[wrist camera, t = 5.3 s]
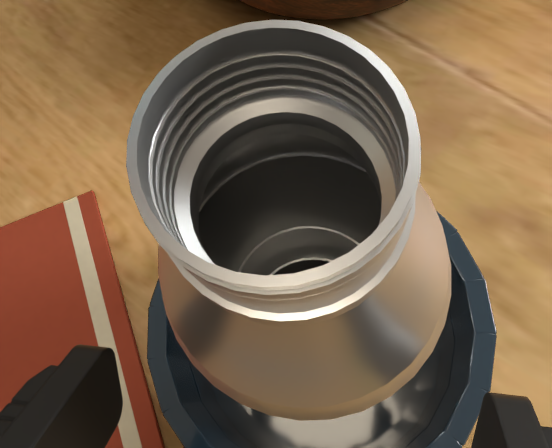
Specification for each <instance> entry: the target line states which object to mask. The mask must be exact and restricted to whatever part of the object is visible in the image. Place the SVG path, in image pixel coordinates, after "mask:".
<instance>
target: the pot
mask: <svg viewBox="0 0 552 448" xmlns="http://www.w3.org/2000/svg"><path fill="white" fill-rule="evenodd" d="M436 212H437V211H436ZM437 214H438V217H439V219H440V221H441V224H442V226H443V230H444V234H445V238H446V243H447V248H448V253H449V258H450V262H451V299H450V303H449V308H448V313H447V317H446V322H445V326H444V328H443V330H442V332H441V334H440V337H439V339H438V341H437V343H436V346H435V348H434V350H433V352H432V353H431V355H430V356H429V357H428V359H427V360H426V361H425V363H424V364H423V365H422V367H421V368H420V369H419V371H418V372H417V373H416V375H415V376H414V377H413V378H412V379H411V380H410V381H408V382H407V383H406V384H405V385H404V386H402V387H401V388H400V389H399V390H398V391H397V392H395V393H394V394H393V395H392V396H391V397H389V398H387V399H385V400H383V401H381V402H379V403H378V404H376V405H374V406H372V407H370V408H368V409H366V410H364V411H362V412H358V413H355V414H351V415H347V416H343V417H339V418H335V419H330V420H305V421H299V420H293V419H288V418H282V417H276V416H270V415H267V414H265V413H262V412H260V411H257V410H255V409H252V408H250V407H247V406H245V405H242V404H240V403H238V402H237V401H235V400H234V399H232V398H231V397H229V396H228V395H226V394H225V393H223V392H222V391H220V390H219V389H217V388H216V387H214V386H213V385H212V384H211V383H210V382H209V381H208V380H207V379H206V378H205V377H204V376H203V375H202V373H201V372H200V371H199V370H198V369H197V368H196V367H195V366H194V365H193V364H192V363H191V361H190V360H189V358H188V357H187V355H186V353H185V352H184V350H183V349H182V347H181V346H180V344H179V343H178V341H177V339H176V337H175V335H174V332H173V330H172V327H171V325H170V322H169V320H168V317H167V315H166V311H165V307H164V303H163V297H162V292H161V287H160V281H159V278H158V281H157V284H156V287H155V290H154V293H153V296H152V299H151V302H150V307H149V310H148V343H147V359H148V365H149V369H150V372H151V376H152V379H153V383H154V386H155V390H156V393H157V397H158V401H159V404H160V408H161V411H162V413H163V416H164V417H165V419H166V420H167V422H168V423H169V425H170V426H171V428H172V429H173V431H174V432H175V434H176V435H177V437H178V438H179V440H180V441H181V443H182V444H183V446H184V447H185V448H462V446H464V445H465V443H466V441H467V439H468V437H469V435H470V433H471V431H472V429H473V427H474V425H475V423H476V421H477V419H478V416H479V413H480V409H481V405H482V401H483V397H484V395H485V394H486V393H487V392H490V390H491V381H492V372H493V364H494V355H495V346H496V337H497V336H496V333H497V332H496V327H495V322H494V318H493V313H492V308H491V304H490V299H489V294H488V290H487V285H486V280H485V279H484V277H483V275H482V273H481V271H480V269H479V268H478V266H477V264H476V262H475V261H474V259H473V257H472V255H471V254H470V252H469V250H468V248H467V247H466V245H465V243H464V242H463V240H462V238H461V236H460V235H459V233H458V232H457V229H455V228H454V227H453V226H452V225H451V224H450V223H449V222H448V221H447V220H446V219H445V218H444V217H443V216H442V215H441V214H439V213H438V212H437Z"/></svg>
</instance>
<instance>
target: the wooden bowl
mask: <svg viewBox="0 0 552 448" xmlns="http://www.w3.org/2000/svg"><path fill="white" fill-rule="evenodd" d="M240 1H242V2H244V3H246V4H248V5H250V6H252V7H255V8H257V9H260V10H263V11H266V12H270V13H273V14H277V15H282V16H287V17H292V18H301V19H321V20H325V19H341V18H349V17H356V16H361V15H366V14H370V13H374V12H378V11H381V10H384V9H388V8H390V7H393V6H395V5H398V4H401V3H403V2H405V1H407V0H240Z"/></svg>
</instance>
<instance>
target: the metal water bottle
mask: <svg viewBox="0 0 552 448" xmlns="http://www.w3.org/2000/svg"><path fill="white" fill-rule="evenodd" d="M126 167H127V172H128V178H129V183H130V189H131V193H132V195H133V198H134V200H135V202H136V205H137V207H138V210H139V212H140V214H141V216H142V218H143V220H144V223H145V225H146V226H147V227H148V229H149V230H150V232H151V233H152V235H153V236H154V237H155V239H156V240H157V242H158V243H159V247H158V276H159V281H160V287H161V292H162V297H163V303H164V307H165V311H166V315H167V317H168V320H169V322H170V325H171V327H172V330H173V332H174V335H175V337H176V339H177V341H178V343H179V344H180V346H181V347H182V349H183V350H184V352H185V353H186V355H187V357H188V358H189V360H190V361H191V363H192V364H193V365H194V366H195V367H196V368H197V369H198V370H199V371H200V372H201V373H202V375H203V376H204V377H205V378H206V379H207V380H208V381H209V382H210V383H211V384H212V385H213V386H214V387H216V388H217V389H219V390H220V391H222V392H223V393H225V394H226V395H228V396H229V397H231V398H232V399H234V400H235V401H237V402H238V403H240V404H242V405H245V406H247V407H250V408H252V409H255V410H257V411H260V412H262V413H265V414H267V415H270V416H276V417H282V418H288V419H293V420H299V421H305V420H330V419H335V418H339V417H343V416H347V415H351V414H355V413H358V412H362V411H364V410H366V409H368V408H370V407H372V406H374V405H376V404H378V403H379V402H381V401H383V400H385V399H387V398H389V397H391V396H392V395H393V394H394V393H395V392H397V391H398V390H399V389H400V388H401V387H402V386H404V385H405V384H406V383H407V382H408V381H410V380H411V379H412V378H413V377H414V376H415V375H416V373H417V372H418V371H419V369H420V368H421V367H422V365H423V364H424V363H425V361H426V360H427V359H428V357H429V356H430V355H431V353H432V352H433V350H434V348H435V346H436V343H437V341H438V339H439V337H440V334H441V332H442V330H443V328H444V326H445V322H446V317H447V313H448V308H449V303H450V299H451V262H450V258H449V253H448V248H447V243H446V238H445V234H444V230H443V226H442V224H441V221H440V219H439V217H438V214H437V212H436V210H435V207H434V205H433V203H432V200H431V199H430V197H429V196H428V194H427V193H426V191H425V190H424V188H423V187H422V185H421V184H420V182H419V179H420V172H421V145H420V134H419V129H418V124H417V119H416V114H415V111H414V109H413V107H412V104H411V102H410V100H409V98H408V95H407V93H406V91H405V89H404V87H403V86H402V84H401V83H400V82H399V80H398V79H397V78H396V76H395V75H394V73H393V72H392V71H391V69H390V68H389V67H388V66H387V65H386V64H385V63H384V62H383V61H382V60H381V59H380V58H378V57H377V56H376V55H375V54H374V53H373V52H372V51H371V50H370V49H368V48H367V47H365V46H363V45H362V44H360V43H358V42H357V41H355V40H354V39H352V38H350V37H349V36H347V35H344V34H342V33H339V32H337V31H334V30H332V29H329V28H327V27H324V26H320V25H316V24H311V23H306V22H302V21H293V20H264V21H255V22H247V23H243V24H239V25H236V26H232V27H229V28H225V29H222V30H219V31H217V32H215V33H213V34H211V35H209V36H206V37H204V38H202V39H200V40H198V41H196V42H195V43H193V44H192V45H191V46H189V47H188V48H186V49H185V50H183V51H182V52H180V53H179V54H177V55H176V56H175V57H174V58H173V59H172V60H171V61H170V62H169V63H168V64H167V65H166V66H165V67H164V68H163V69H162V70H161V71H160V72H159V73H158V74H157V75H156V77H155V78H154V80H153V81H152V82H151V84H150V85H149V87H148V88H147V89H146V91H145V92H144V94H143V96H142V98H141V100H140V102H139V105H138V107H137V109H136V111H135V113H134V115H133V119H132V123H131V127H130V131H129V135H128V139H127V163H126Z"/></svg>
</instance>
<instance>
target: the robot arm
mask: <svg viewBox="0 0 552 448" xmlns="http://www.w3.org/2000/svg"><path fill="white" fill-rule="evenodd" d="M122 407H123V397H122V391H121V386H120V380H119V374H118V369H117V363H116V357H115V353H114V351H113V349H111V348H108V347H99V346H90V345H81V344H79V345H76V346H75V347H73V348H72V349H71V351H70V352H69V353H68V354H67V356H66V357H65V358H64V359H63V360H62V362H61V363H60V364H59V365H58V366H56V365H50V366H48V367H47V368H45V369H44V370H42V371H41V372H39V373H38V374H36V375H35V376H33V377H32V378H30V379H29V380H28V381H27V382H26V383H25V384H24V385H23V387H22V388H21V389H20V390H19V391H18V392H17V393H16V395H15V396H14V397H13V398H12V401H11V403H8V404H7V405H6V406H5V407H4V408H3V410H2V411H1V412H0V448H105V447H106V445H107V443H108V441H109V440H110V438H111V436H112V434H113V433H114V431H115V429H116V427H117V425H118V423H119V420H120V417H121V413H122ZM471 448H552V428H551V427H543V426H540V423H539V421H538V418H537V416H536V413H535V411H534V409H533V406H532V404H531V402H530V400H529V399H528V398H527V397H524V396H515V395H506V394H498V393H489V392H487V393H486V394H485V395H484V397H483V401H482V405H481V409H480V413H479V417H478V422H477V426H476V430H475V434H474V438H473V442H472V447H471Z"/></svg>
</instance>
